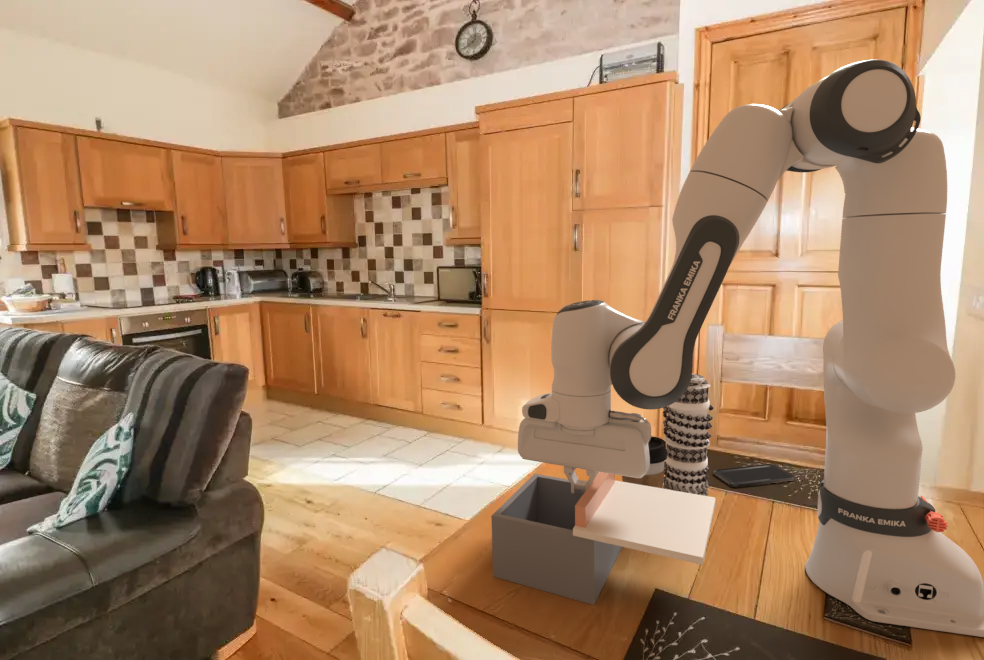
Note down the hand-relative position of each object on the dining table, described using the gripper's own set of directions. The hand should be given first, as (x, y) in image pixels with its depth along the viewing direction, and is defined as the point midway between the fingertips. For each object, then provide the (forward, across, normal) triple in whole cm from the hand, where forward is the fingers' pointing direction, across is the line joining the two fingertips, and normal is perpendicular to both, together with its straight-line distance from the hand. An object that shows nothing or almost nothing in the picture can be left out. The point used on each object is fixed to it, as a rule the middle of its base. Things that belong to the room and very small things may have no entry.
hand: (581, 493), depth 83 cm
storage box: (+12, +4, 0) cm, 13 cm away
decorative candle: (+12, -12, -31) cm, 35 cm away
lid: (+2, -10, 0) cm, 10 cm away
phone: (+13, -24, -47) cm, 54 cm away
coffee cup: (+12, -6, -19) cm, 23 cm away
